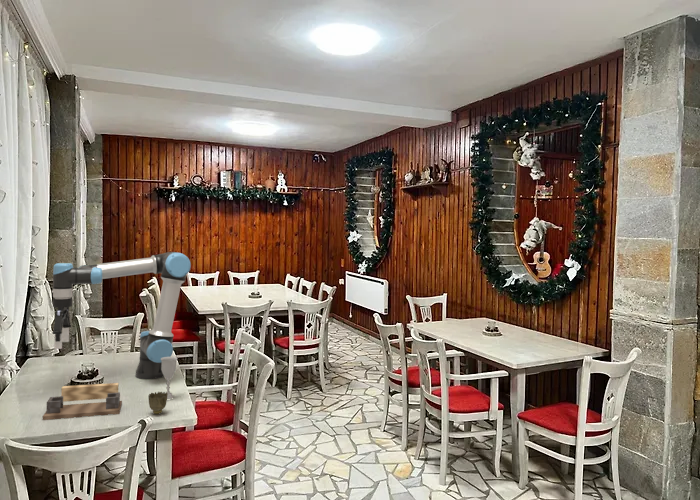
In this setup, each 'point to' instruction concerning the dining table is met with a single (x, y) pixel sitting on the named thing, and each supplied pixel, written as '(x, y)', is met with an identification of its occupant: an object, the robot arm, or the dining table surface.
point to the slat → (88, 391)
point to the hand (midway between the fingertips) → (61, 345)
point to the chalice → (168, 371)
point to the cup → (157, 401)
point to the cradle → (82, 408)
